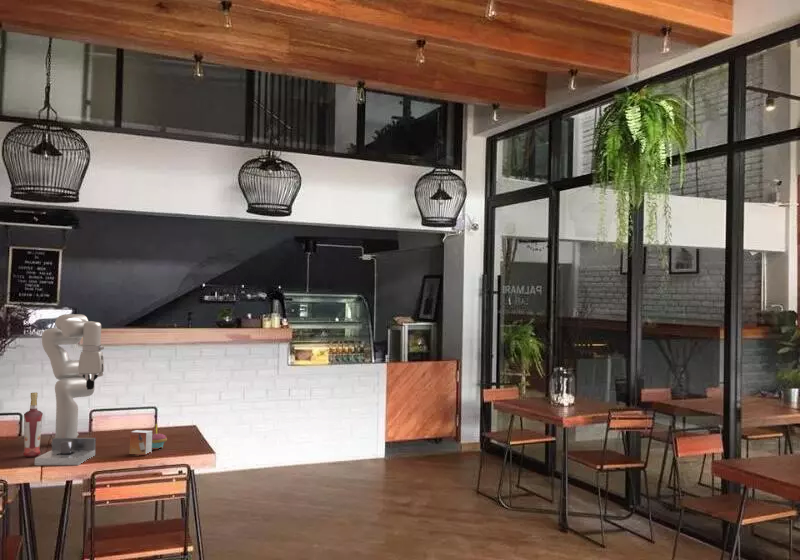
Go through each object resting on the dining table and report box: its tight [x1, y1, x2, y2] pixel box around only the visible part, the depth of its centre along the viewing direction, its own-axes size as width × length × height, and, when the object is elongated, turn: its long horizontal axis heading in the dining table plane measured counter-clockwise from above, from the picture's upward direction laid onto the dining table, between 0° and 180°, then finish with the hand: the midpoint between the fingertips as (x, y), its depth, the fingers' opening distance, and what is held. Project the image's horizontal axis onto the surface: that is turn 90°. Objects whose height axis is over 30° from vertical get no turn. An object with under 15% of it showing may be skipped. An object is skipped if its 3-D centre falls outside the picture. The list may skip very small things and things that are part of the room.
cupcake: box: [152, 423, 168, 448], centre depth 317 cm, size 9×8×12 cm
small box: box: [128, 429, 153, 454], centre depth 305 cm, size 8×6×10 cm
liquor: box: [22, 392, 44, 458], centre depth 298 cm, size 7×7×28 cm
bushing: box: [60, 441, 72, 455], centre depth 291 cm, size 4×4×8 cm
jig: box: [34, 437, 97, 466], centre depth 291 cm, size 18×18×8 cm
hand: (90, 389), depth 306 cm, fingers closed
